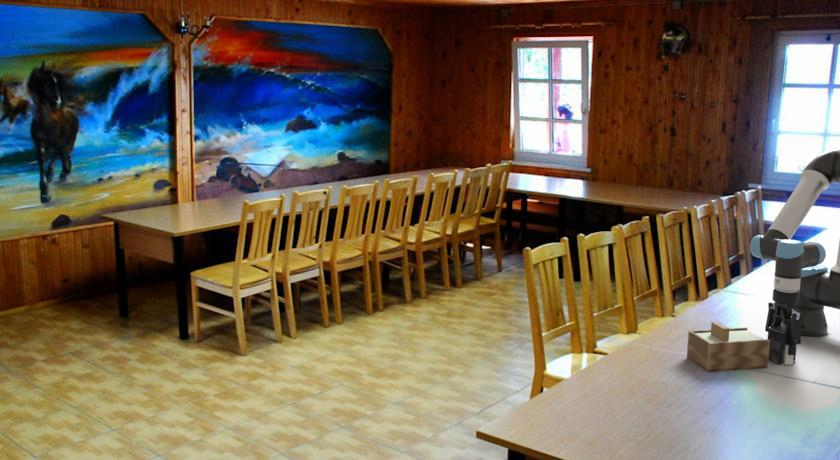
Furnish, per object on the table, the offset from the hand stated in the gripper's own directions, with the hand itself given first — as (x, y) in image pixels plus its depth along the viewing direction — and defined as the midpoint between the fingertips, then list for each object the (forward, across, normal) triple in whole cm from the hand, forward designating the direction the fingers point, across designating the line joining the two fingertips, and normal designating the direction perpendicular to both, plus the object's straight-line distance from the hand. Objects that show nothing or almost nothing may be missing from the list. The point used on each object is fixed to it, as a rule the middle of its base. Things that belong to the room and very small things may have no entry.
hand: (780, 359), depth 256 cm
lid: (-7, -1, -18) cm, 19 cm away
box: (+1, 0, 0) cm, 1 cm away
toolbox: (0, -1, -18) cm, 18 cm away
